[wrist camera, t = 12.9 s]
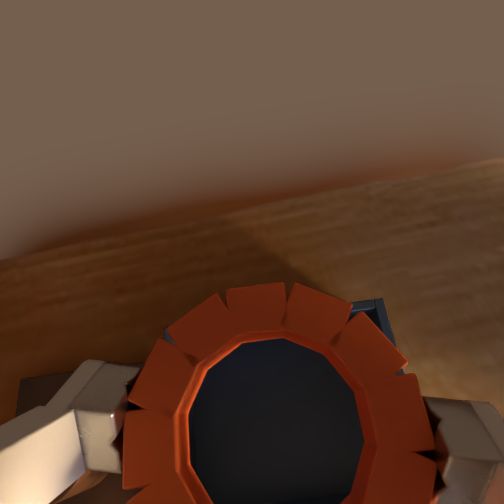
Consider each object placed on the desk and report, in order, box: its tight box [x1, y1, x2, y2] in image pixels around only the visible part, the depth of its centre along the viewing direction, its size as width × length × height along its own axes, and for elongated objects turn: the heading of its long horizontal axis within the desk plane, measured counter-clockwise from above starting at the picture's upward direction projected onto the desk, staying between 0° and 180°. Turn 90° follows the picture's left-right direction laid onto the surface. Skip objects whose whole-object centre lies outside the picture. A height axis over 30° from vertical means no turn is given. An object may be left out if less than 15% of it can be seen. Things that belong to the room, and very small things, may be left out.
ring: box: [122, 282, 438, 504], centre depth 8 cm, size 6×6×1 cm
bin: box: [164, 298, 404, 504], centre depth 23 cm, size 14×12×6 cm
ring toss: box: [15, 362, 146, 504], centre depth 20 cm, size 10×10×12 cm
